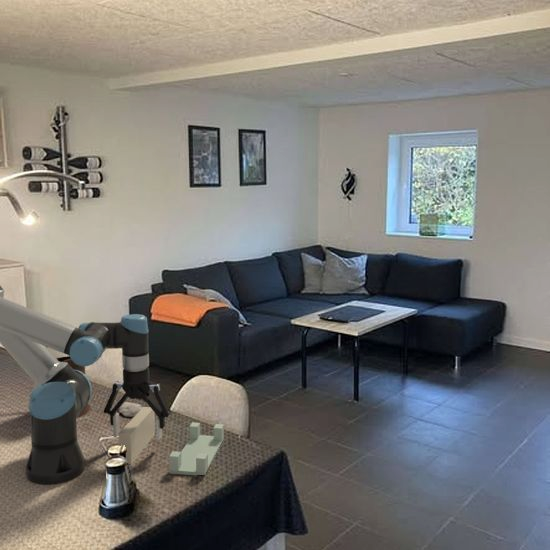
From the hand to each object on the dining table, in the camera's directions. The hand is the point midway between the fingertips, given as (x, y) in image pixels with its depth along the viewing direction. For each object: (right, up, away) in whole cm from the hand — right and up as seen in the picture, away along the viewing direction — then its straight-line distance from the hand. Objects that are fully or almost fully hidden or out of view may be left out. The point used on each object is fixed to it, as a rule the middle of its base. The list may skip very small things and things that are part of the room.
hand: (138, 436), depth 176 cm
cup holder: (-35, +1, +30) cm, 46 cm away
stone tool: (-8, 0, +27) cm, 28 cm away
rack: (+18, -4, -4) cm, 19 cm away
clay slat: (0, -4, +1) cm, 4 cm away
